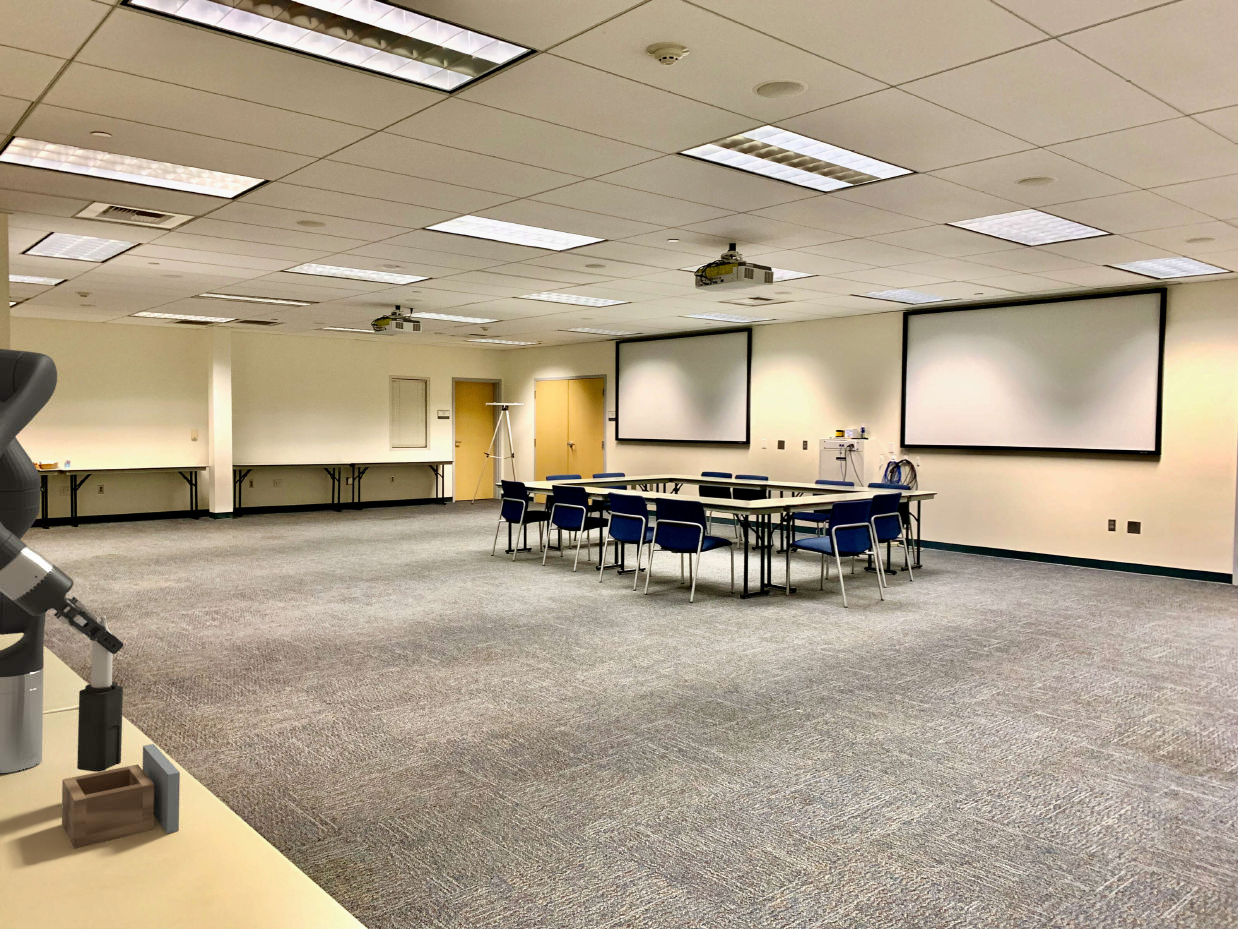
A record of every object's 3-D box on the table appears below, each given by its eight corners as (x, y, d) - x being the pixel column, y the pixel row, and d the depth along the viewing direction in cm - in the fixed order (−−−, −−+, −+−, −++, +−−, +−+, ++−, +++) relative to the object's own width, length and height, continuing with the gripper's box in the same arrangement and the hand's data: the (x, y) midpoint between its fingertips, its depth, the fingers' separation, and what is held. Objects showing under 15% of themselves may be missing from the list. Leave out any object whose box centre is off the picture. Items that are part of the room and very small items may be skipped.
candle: (100, 772, 139) (104, 619, 139) (73, 769, 140) (77, 617, 140) (124, 761, 144) (128, 614, 144) (98, 758, 145) (102, 611, 145)
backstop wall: (141, 799, 142) (142, 745, 142) (152, 797, 143) (153, 743, 143) (167, 833, 130) (168, 774, 130) (178, 830, 131) (179, 772, 131)
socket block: (61, 824, 133) (62, 779, 133) (137, 807, 139) (137, 764, 139) (73, 848, 125) (74, 801, 125) (153, 829, 132) (153, 784, 132)
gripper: (58, 568, 131) (145, 638, 140) (44, 556, 142) (126, 622, 150) (15, 606, 128) (106, 675, 136) (4, 591, 139) (90, 656, 147)
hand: (116, 647), depth 143 cm, fingers closed on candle, 3 cm apart
